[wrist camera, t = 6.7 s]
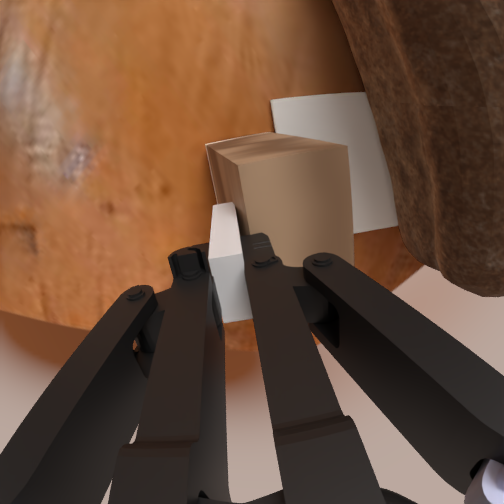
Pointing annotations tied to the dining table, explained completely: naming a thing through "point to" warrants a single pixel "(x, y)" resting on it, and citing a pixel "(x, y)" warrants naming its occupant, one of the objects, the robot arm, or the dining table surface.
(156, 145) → the dining table surface
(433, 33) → the bread
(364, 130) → the mat
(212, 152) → the block
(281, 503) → the robot arm
